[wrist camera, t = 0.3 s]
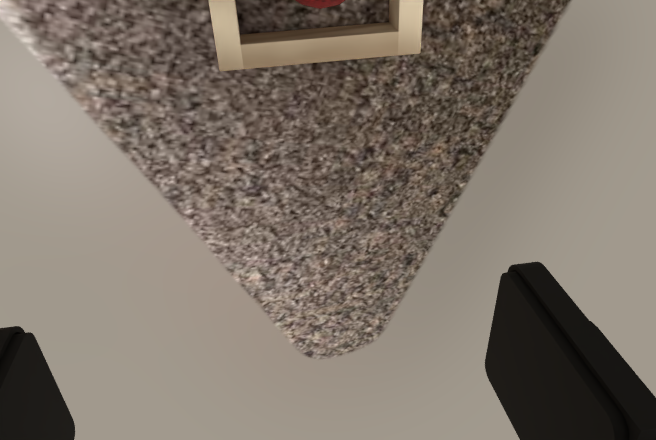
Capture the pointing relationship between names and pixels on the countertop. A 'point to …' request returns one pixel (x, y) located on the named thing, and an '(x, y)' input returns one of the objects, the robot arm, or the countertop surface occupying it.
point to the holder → (315, 39)
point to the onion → (320, 3)
